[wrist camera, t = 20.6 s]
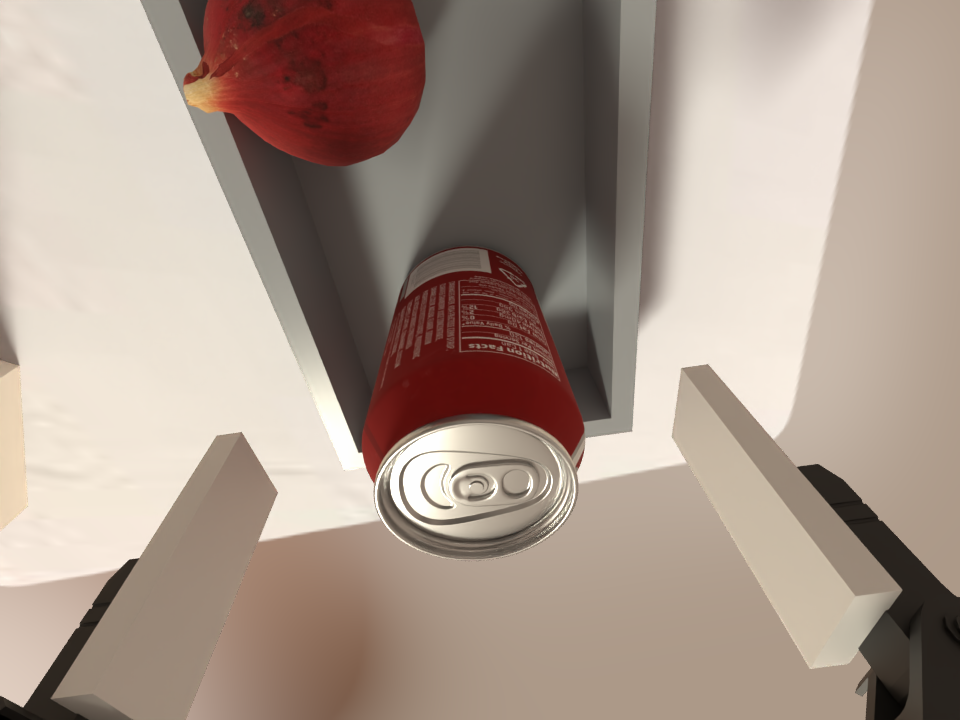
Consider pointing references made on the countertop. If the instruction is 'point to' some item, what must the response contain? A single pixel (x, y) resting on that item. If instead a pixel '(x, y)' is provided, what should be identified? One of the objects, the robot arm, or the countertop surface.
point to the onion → (313, 73)
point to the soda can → (472, 413)
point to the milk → (11, 445)
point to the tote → (459, 193)
